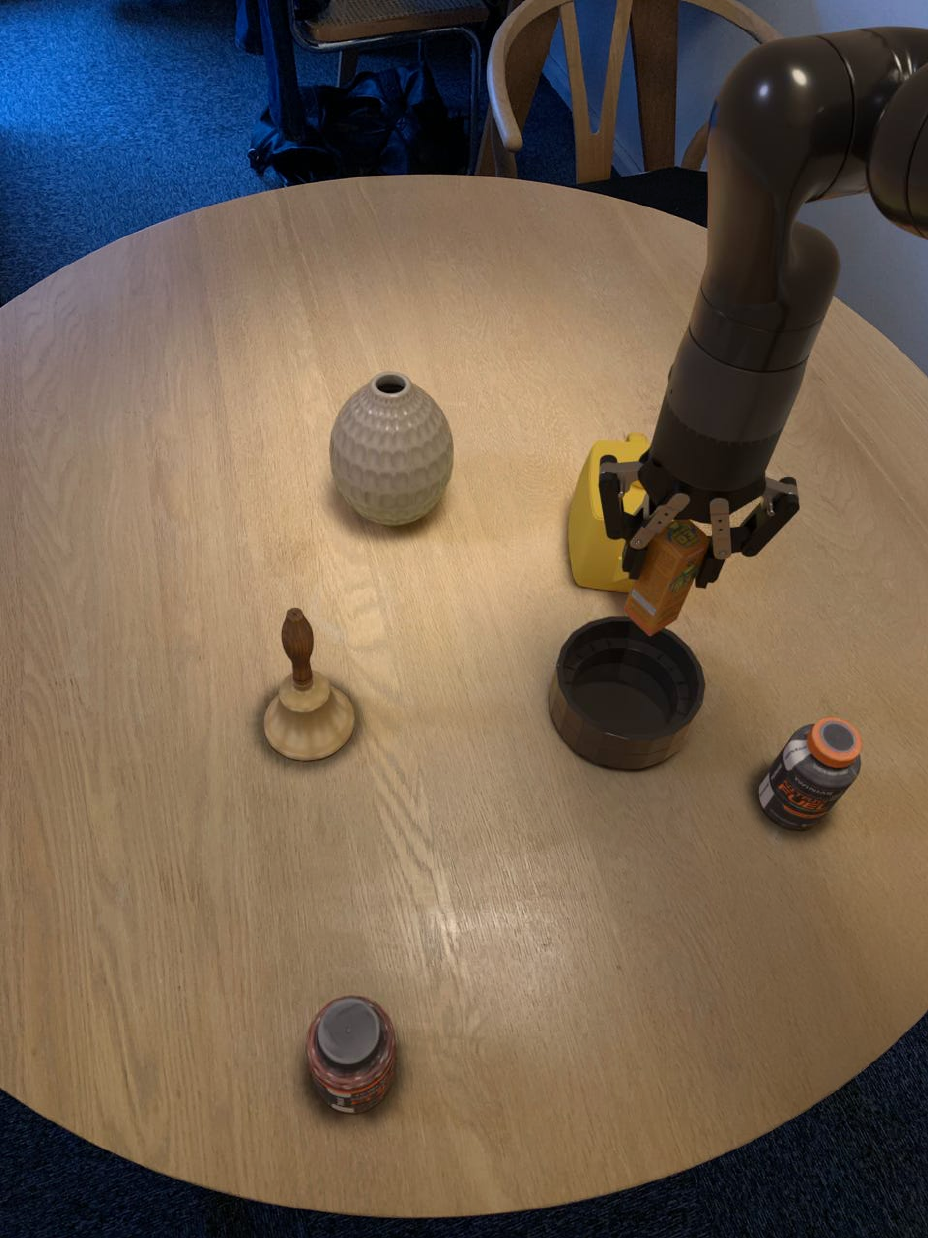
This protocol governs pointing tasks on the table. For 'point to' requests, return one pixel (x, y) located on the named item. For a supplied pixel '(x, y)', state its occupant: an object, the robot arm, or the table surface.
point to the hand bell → (306, 702)
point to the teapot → (602, 519)
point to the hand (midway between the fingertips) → (666, 574)
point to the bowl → (625, 692)
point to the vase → (391, 450)
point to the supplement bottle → (352, 1053)
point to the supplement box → (666, 575)
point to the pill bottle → (811, 773)
